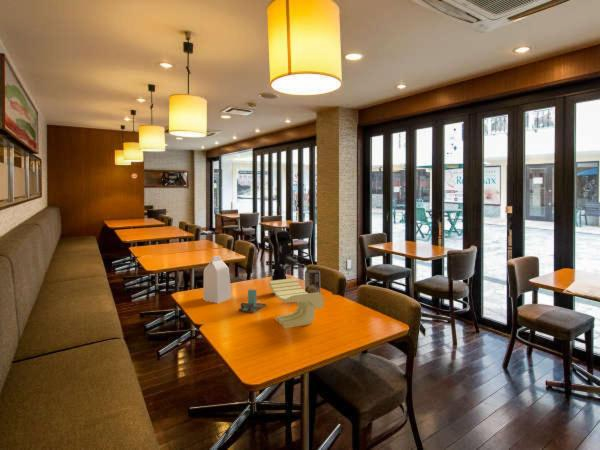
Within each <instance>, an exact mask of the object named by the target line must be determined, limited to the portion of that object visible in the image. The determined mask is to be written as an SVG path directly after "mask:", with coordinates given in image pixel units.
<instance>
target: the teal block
mask: <svg viewBox="0 0 600 450" xmlns="http://www.w3.org/2000/svg"><path fill="white" fill-rule="evenodd" d="M257 297H258V295H257V289H248V290H247V303H249V304H254V307H256V306H257V303H258V300H257ZM249 309H251V307H248V306H245V308H243V310H245V311H247V310H249Z"/></svg>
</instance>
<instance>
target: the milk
mask: <svg viewBox="0 0 600 450" xmlns="http://www.w3.org/2000/svg"><path fill="white" fill-rule="evenodd" d="M202 288H203V290H202V291H203V295H202V298H203V300H205V301H204V302H208V301H209V302H210V303H213V302H214V304H220V303H222V302H225V301H227V300H230V299H232V287H231V276H230V267H229V266H228V265H227V264H226V263H225V262H224V260H223V259H222V256H221V255H216V256H212V257H211V260H210V262H209V263H208V264H207V265H206V266H205V267H204V269H203V287H202Z"/></svg>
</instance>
